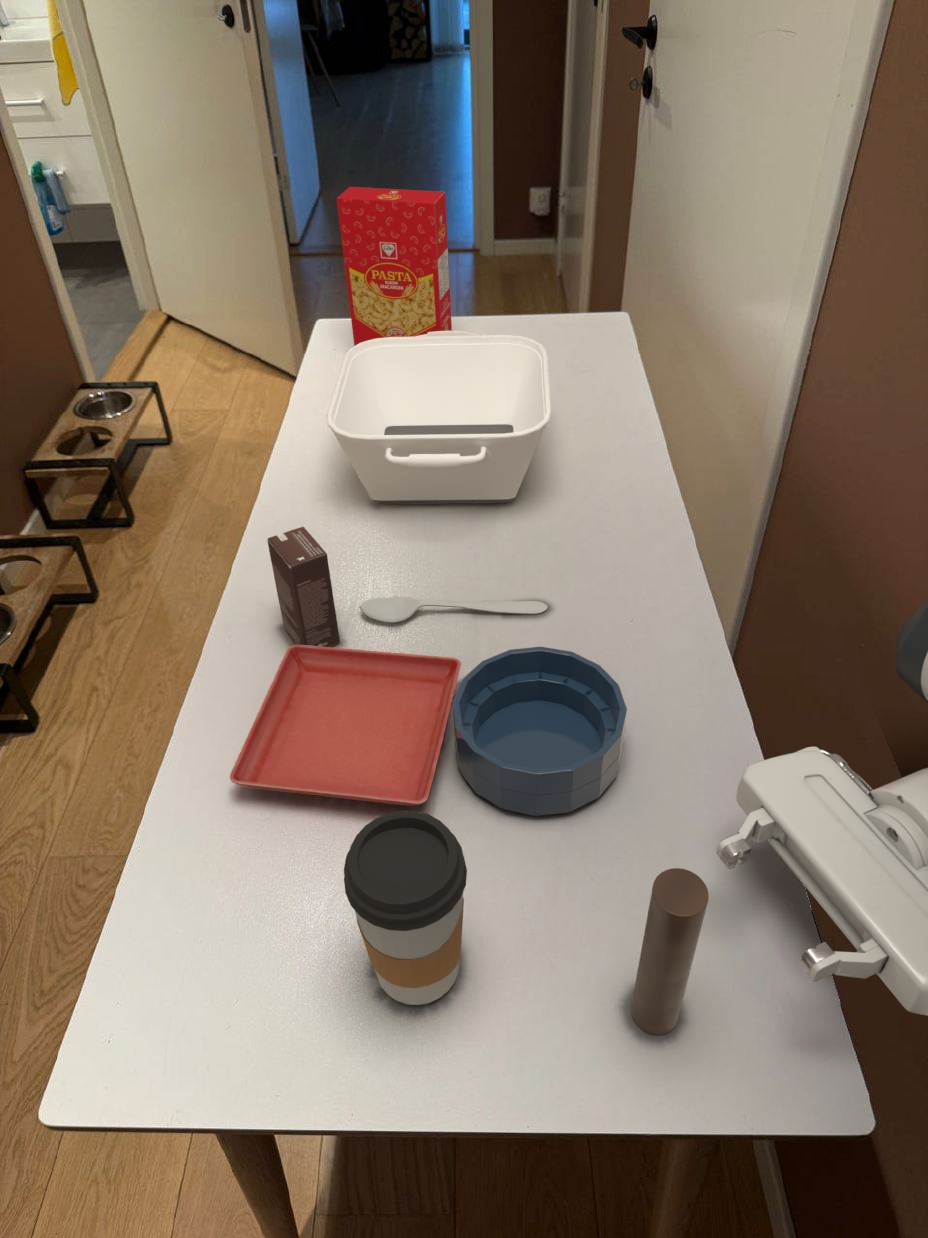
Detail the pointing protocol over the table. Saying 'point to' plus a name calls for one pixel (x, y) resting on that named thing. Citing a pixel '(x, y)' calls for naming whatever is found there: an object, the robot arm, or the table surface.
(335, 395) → the tub
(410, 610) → the spoon
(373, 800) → the plant saucer
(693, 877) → the brown cylinder
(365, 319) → the food packaging
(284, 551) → the box
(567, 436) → the table surface
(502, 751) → the bowl
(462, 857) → the coffee cup
